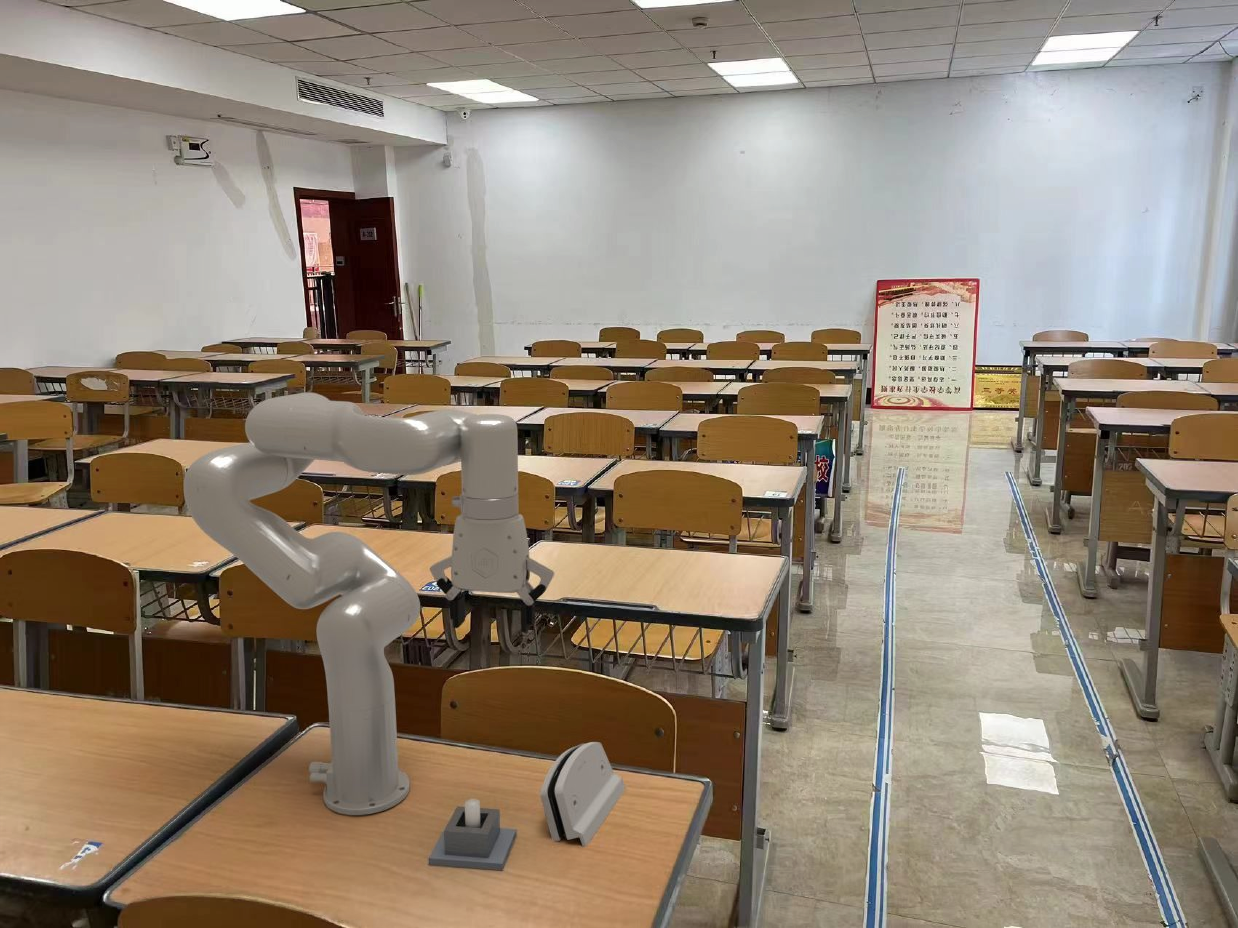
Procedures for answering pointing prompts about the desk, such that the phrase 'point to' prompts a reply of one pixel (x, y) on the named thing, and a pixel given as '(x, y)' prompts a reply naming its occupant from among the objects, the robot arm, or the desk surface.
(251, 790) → the desk surface
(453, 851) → the grey square hollow block
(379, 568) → the robot arm
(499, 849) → the keeper
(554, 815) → the grey slotted holder
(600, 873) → the desk surface
